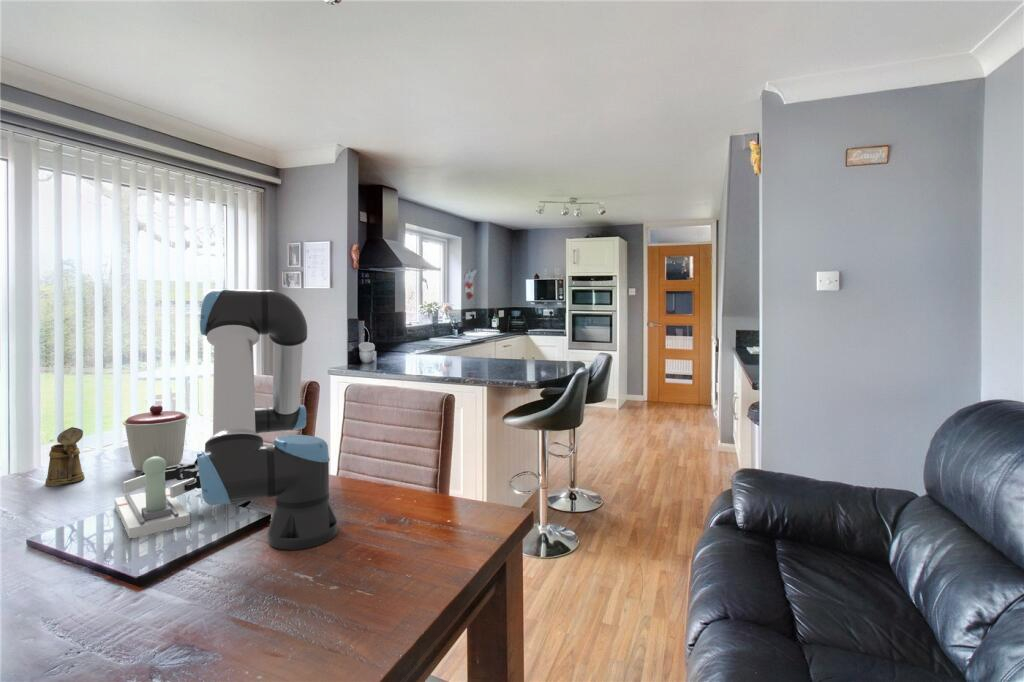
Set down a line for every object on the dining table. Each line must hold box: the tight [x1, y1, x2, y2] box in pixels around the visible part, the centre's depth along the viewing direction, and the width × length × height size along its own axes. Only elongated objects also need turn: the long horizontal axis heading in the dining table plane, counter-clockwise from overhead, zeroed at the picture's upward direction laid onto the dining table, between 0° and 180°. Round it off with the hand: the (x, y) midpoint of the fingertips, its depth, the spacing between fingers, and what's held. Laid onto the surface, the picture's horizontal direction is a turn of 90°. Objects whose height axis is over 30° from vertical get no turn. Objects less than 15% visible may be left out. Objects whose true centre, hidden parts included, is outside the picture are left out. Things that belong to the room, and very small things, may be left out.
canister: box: [122, 404, 190, 472], centre depth 172 cm, size 18×18×21 cm
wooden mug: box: [44, 426, 85, 487], centre depth 156 cm, size 9×14×18 cm, turn 54°
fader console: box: [114, 487, 191, 540], centre depth 132 cm, size 26×12×3 cm, turn 43°
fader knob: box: [142, 456, 171, 520], centre depth 126 cm, size 5×5×14 cm
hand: (147, 490), depth 124 cm, fingers open, 13 cm apart
